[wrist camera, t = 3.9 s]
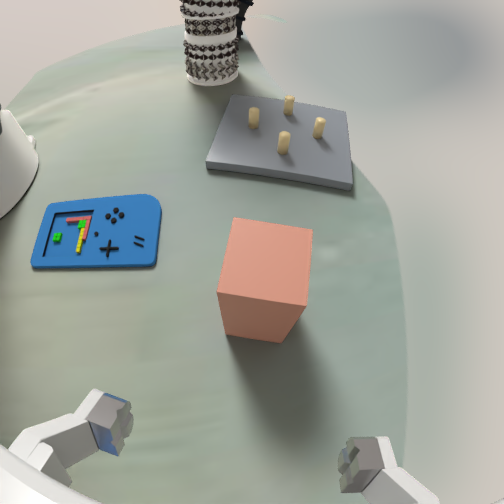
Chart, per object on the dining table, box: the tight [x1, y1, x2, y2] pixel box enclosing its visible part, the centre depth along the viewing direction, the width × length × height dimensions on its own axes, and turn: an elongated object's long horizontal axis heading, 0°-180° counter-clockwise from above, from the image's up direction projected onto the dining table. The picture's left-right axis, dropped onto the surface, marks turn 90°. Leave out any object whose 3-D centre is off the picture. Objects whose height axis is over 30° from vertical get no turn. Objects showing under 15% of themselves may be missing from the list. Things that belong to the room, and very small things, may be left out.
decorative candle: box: [180, 0, 241, 86], centre depth 32 cm, size 9×9×25 cm
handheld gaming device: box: [31, 194, 162, 268], centre depth 28 cm, size 8×1×15 cm
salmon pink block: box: [217, 217, 313, 343], centre depth 21 cm, size 5×5×10 cm
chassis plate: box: [206, 94, 353, 191], centre depth 34 cm, size 16×14×4 cm
